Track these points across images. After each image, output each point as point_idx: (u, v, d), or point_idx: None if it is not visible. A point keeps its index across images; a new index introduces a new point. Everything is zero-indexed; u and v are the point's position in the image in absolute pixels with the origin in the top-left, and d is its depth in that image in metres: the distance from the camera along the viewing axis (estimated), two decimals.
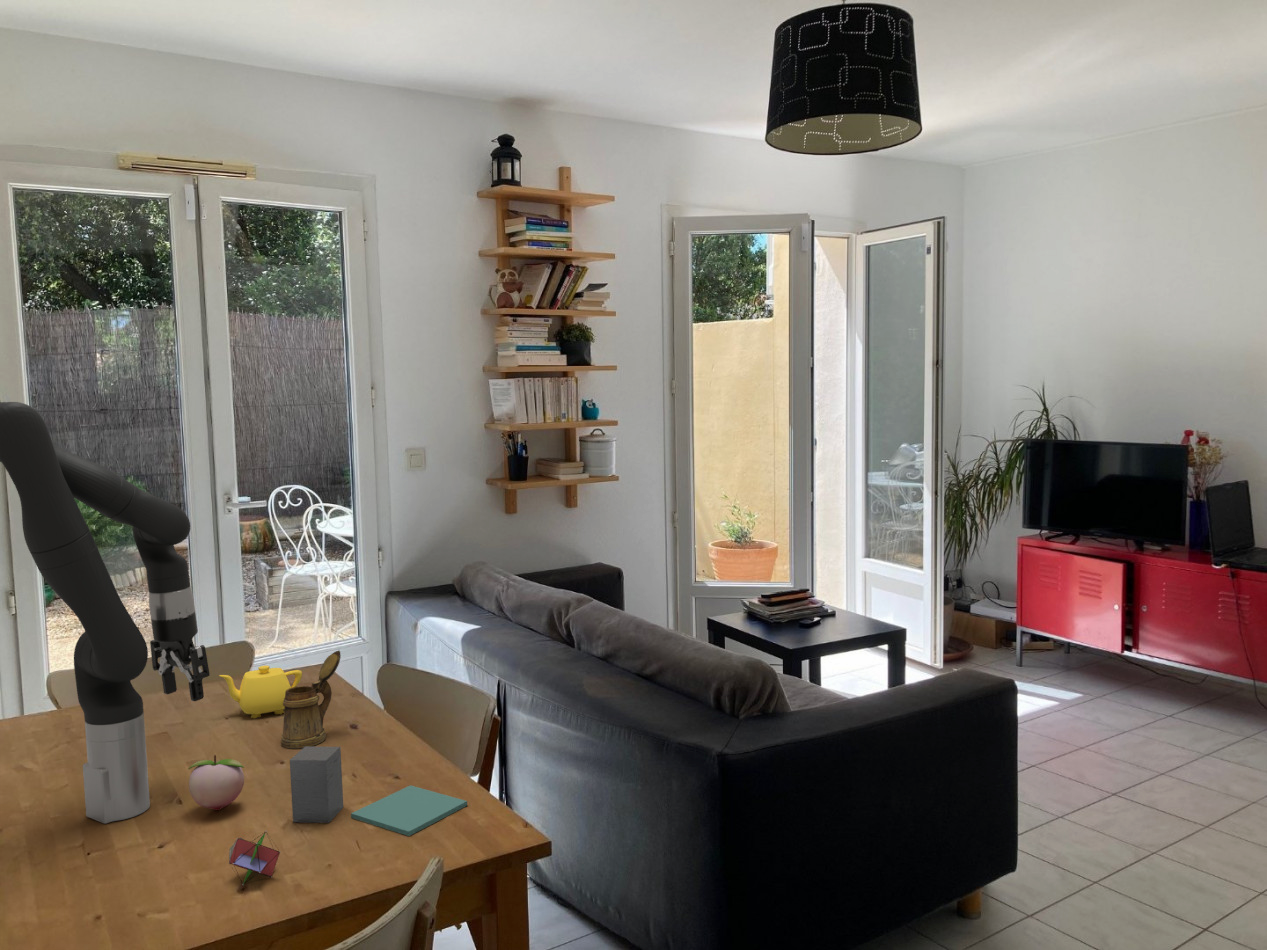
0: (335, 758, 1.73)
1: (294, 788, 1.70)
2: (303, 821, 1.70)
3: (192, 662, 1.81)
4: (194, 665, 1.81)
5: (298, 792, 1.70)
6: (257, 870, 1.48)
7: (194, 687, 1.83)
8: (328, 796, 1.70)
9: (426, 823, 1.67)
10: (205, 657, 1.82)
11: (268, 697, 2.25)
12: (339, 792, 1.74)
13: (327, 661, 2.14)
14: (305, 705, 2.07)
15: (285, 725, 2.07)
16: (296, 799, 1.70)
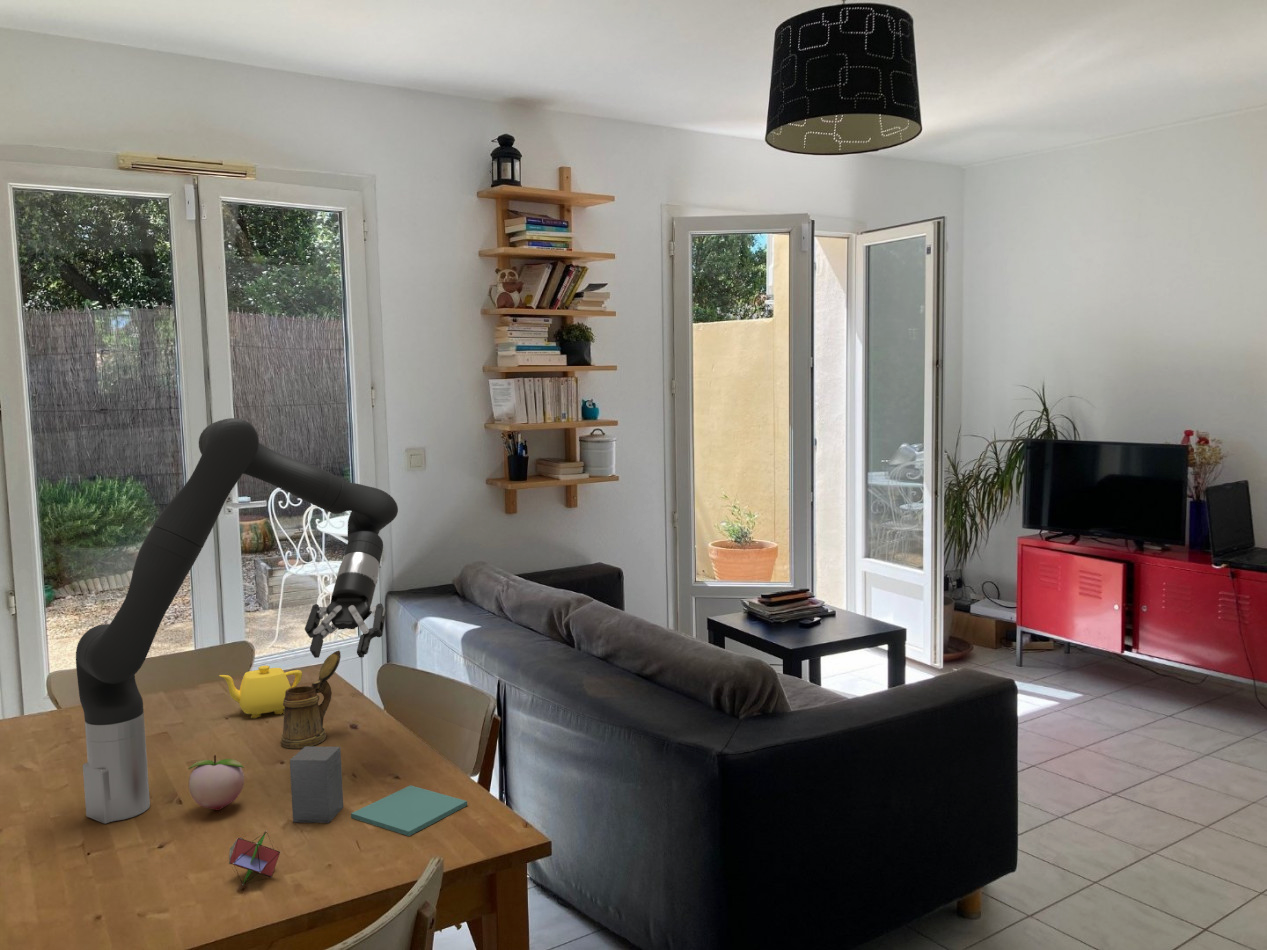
0: (335, 758, 1.73)
1: (294, 788, 1.70)
2: (303, 821, 1.70)
3: (376, 615, 1.86)
4: (378, 617, 1.86)
5: (298, 792, 1.70)
6: (257, 870, 1.48)
7: (365, 640, 1.84)
8: (328, 796, 1.70)
9: (426, 823, 1.67)
10: (384, 619, 1.88)
11: (268, 697, 2.25)
12: (339, 792, 1.74)
13: (327, 661, 2.14)
14: (305, 705, 2.07)
15: (285, 725, 2.07)
16: (296, 799, 1.70)
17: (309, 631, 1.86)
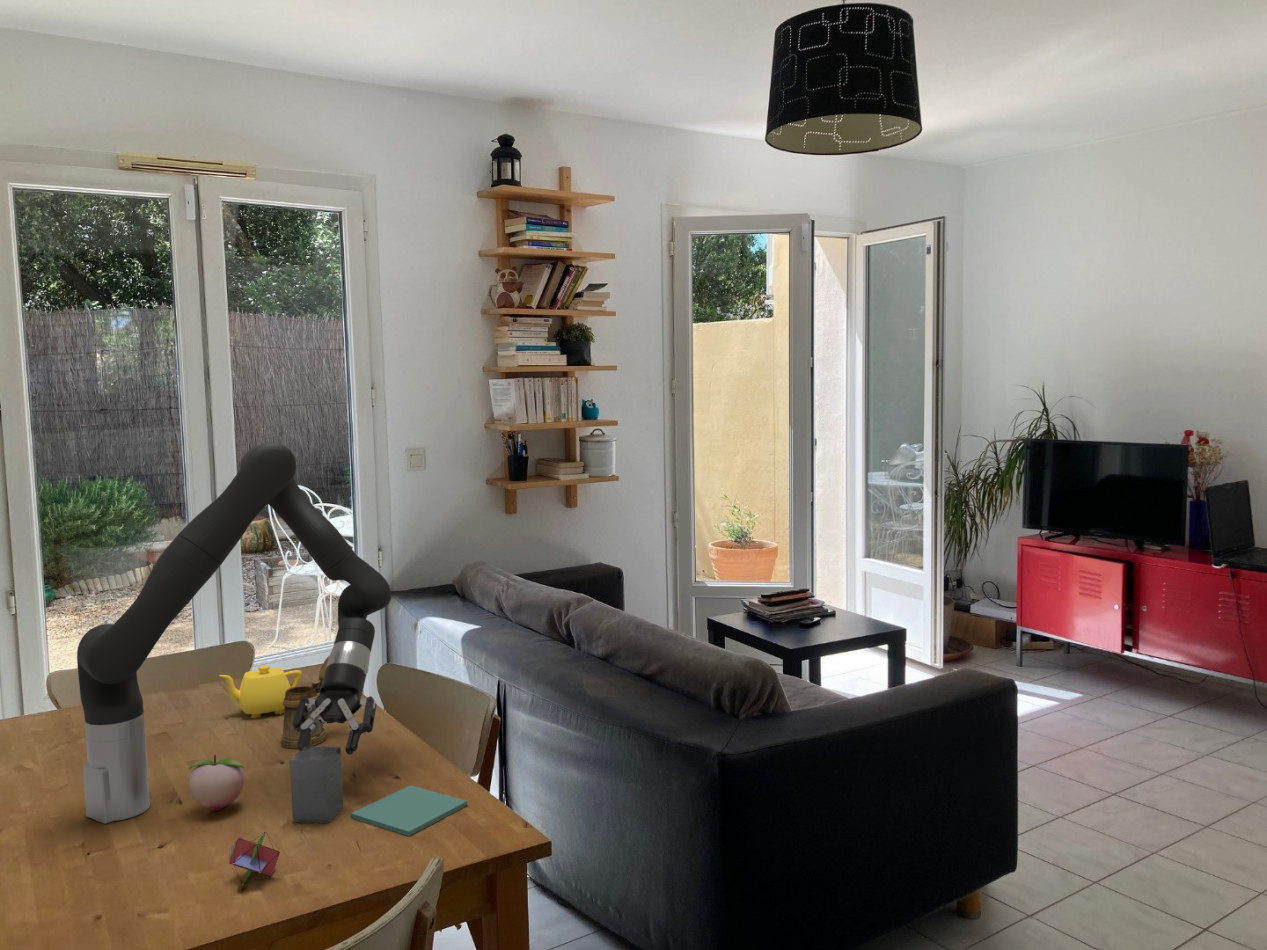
0: (335, 758, 1.73)
1: (294, 788, 1.70)
2: (303, 821, 1.70)
3: (366, 709, 1.80)
4: (368, 712, 1.80)
5: (298, 792, 1.70)
6: (257, 870, 1.48)
7: (354, 736, 1.77)
8: (328, 796, 1.70)
9: (426, 823, 1.67)
10: (374, 712, 1.82)
11: (268, 697, 2.25)
12: (339, 792, 1.74)
13: (327, 661, 2.14)
14: None
15: (285, 725, 2.07)
16: (296, 799, 1.70)
17: (297, 726, 1.80)
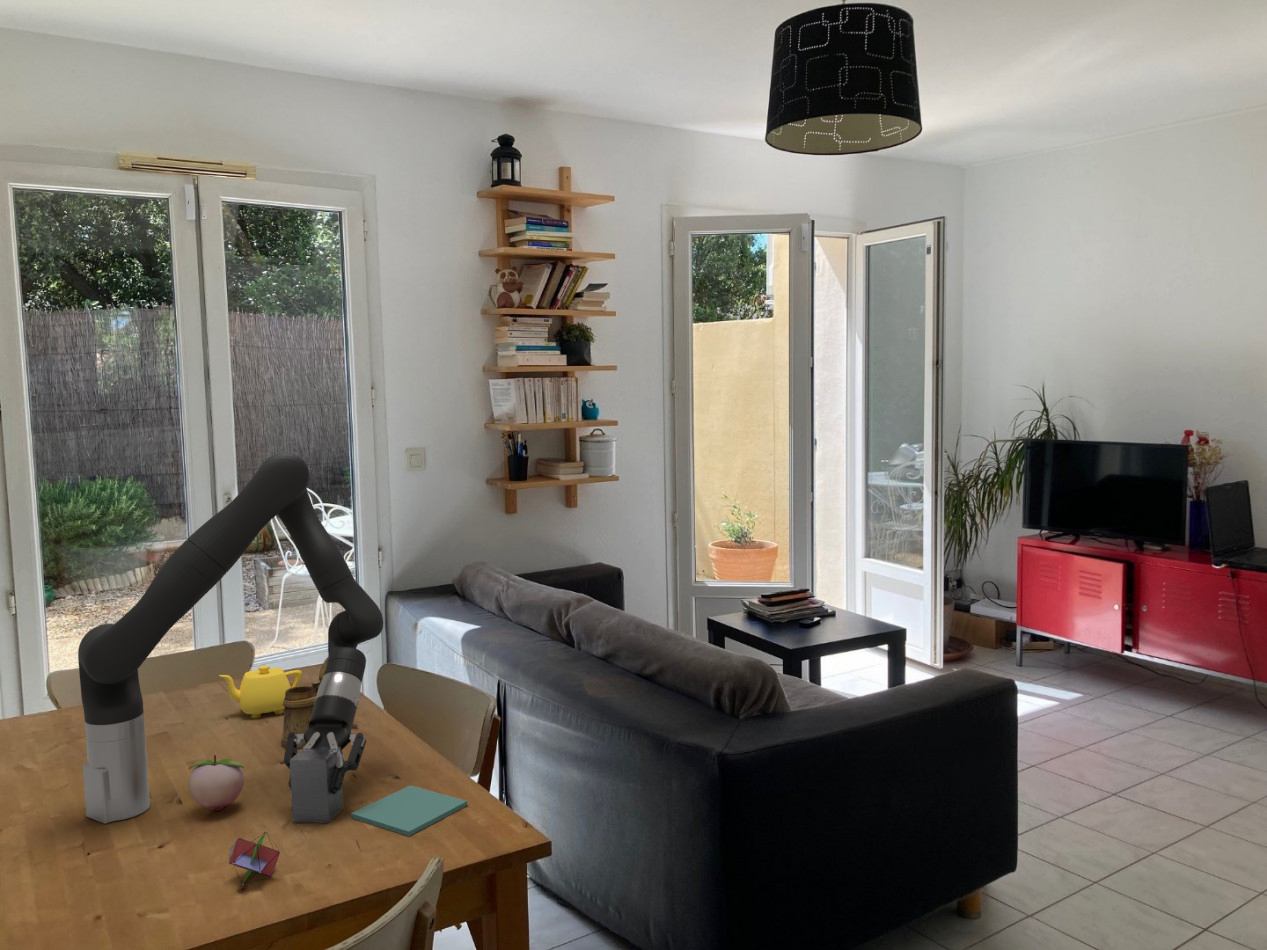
0: (335, 758, 1.73)
1: (294, 788, 1.70)
2: (303, 821, 1.70)
3: (354, 746, 1.75)
4: (355, 749, 1.74)
5: (298, 792, 1.70)
6: (257, 870, 1.48)
7: (339, 775, 1.72)
8: (328, 796, 1.69)
9: (426, 823, 1.67)
10: (362, 750, 1.76)
11: (268, 697, 2.25)
12: (339, 792, 1.74)
13: (327, 661, 2.14)
14: (305, 705, 2.07)
15: (285, 725, 2.07)
16: (296, 799, 1.70)
17: (288, 763, 1.74)
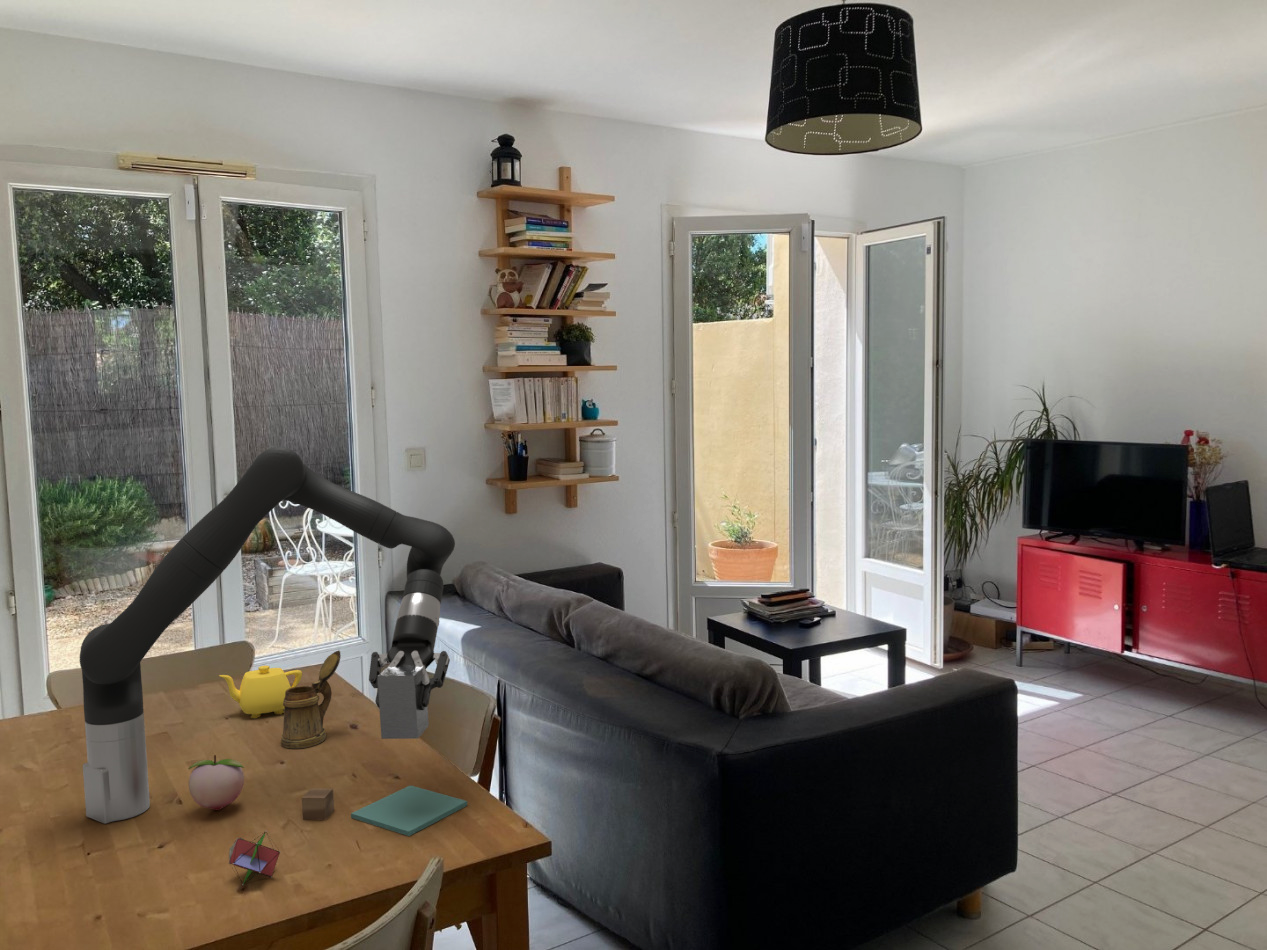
0: (421, 675, 1.72)
1: (382, 704, 1.69)
2: (391, 737, 1.70)
3: (439, 663, 1.74)
4: (440, 666, 1.74)
5: (386, 708, 1.69)
6: (257, 870, 1.48)
7: (426, 691, 1.72)
8: (416, 712, 1.69)
9: (426, 823, 1.67)
10: (447, 668, 1.76)
11: (268, 697, 2.25)
12: (425, 710, 1.74)
13: (327, 661, 2.14)
14: (305, 705, 2.07)
15: (285, 725, 2.07)
16: (384, 715, 1.70)
17: (374, 681, 1.74)
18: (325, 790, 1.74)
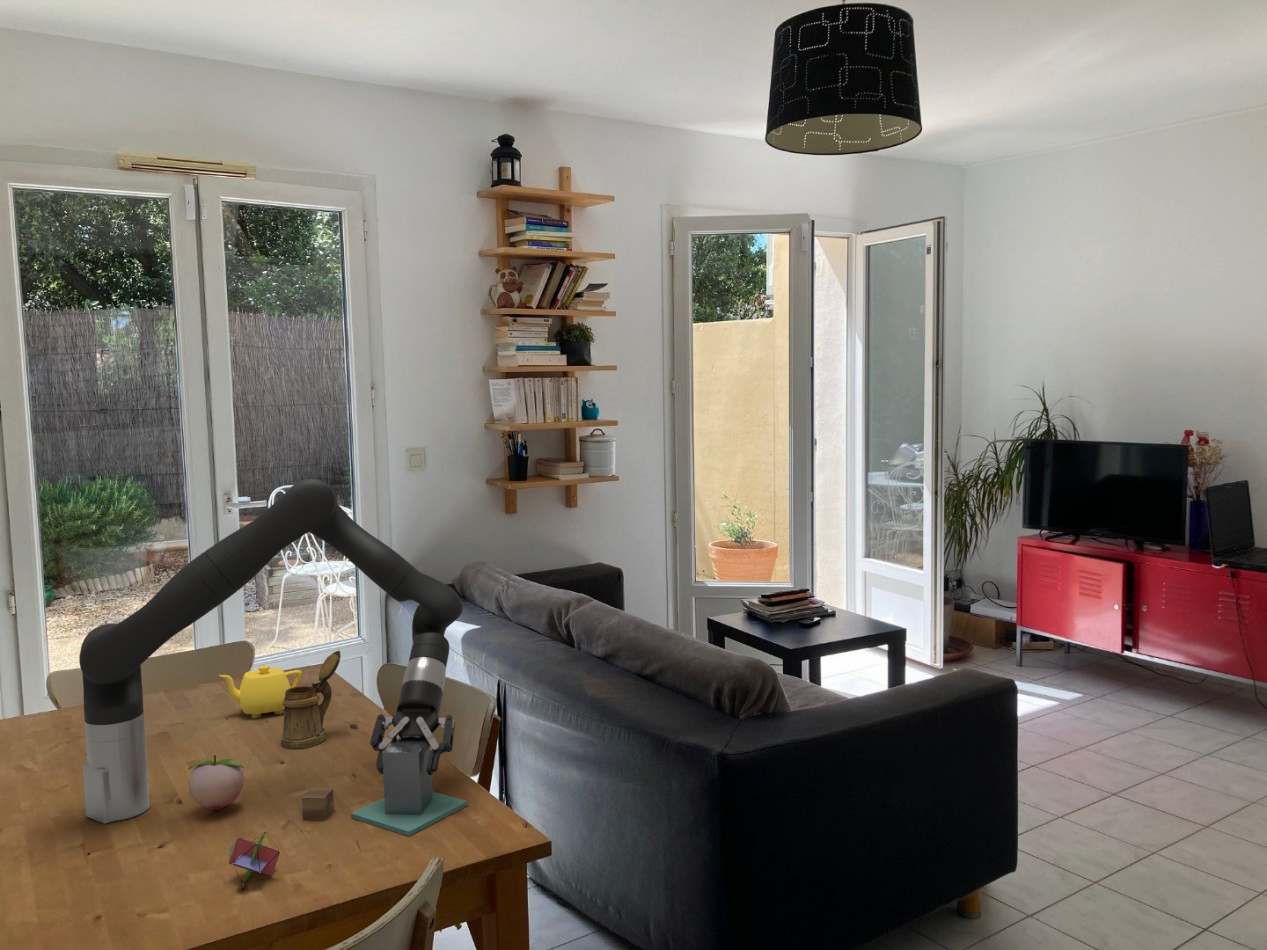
0: (425, 751, 1.73)
1: (387, 780, 1.70)
2: (395, 813, 1.71)
3: (446, 728, 1.75)
4: (448, 731, 1.75)
5: (390, 784, 1.70)
6: (257, 870, 1.48)
7: (435, 756, 1.72)
8: (420, 788, 1.70)
9: (426, 823, 1.67)
10: (453, 731, 1.77)
11: (268, 697, 2.25)
12: (429, 784, 1.75)
13: (327, 661, 2.14)
14: (305, 705, 2.07)
15: (285, 725, 2.07)
16: (388, 791, 1.70)
17: (375, 745, 1.75)
18: (325, 790, 1.74)
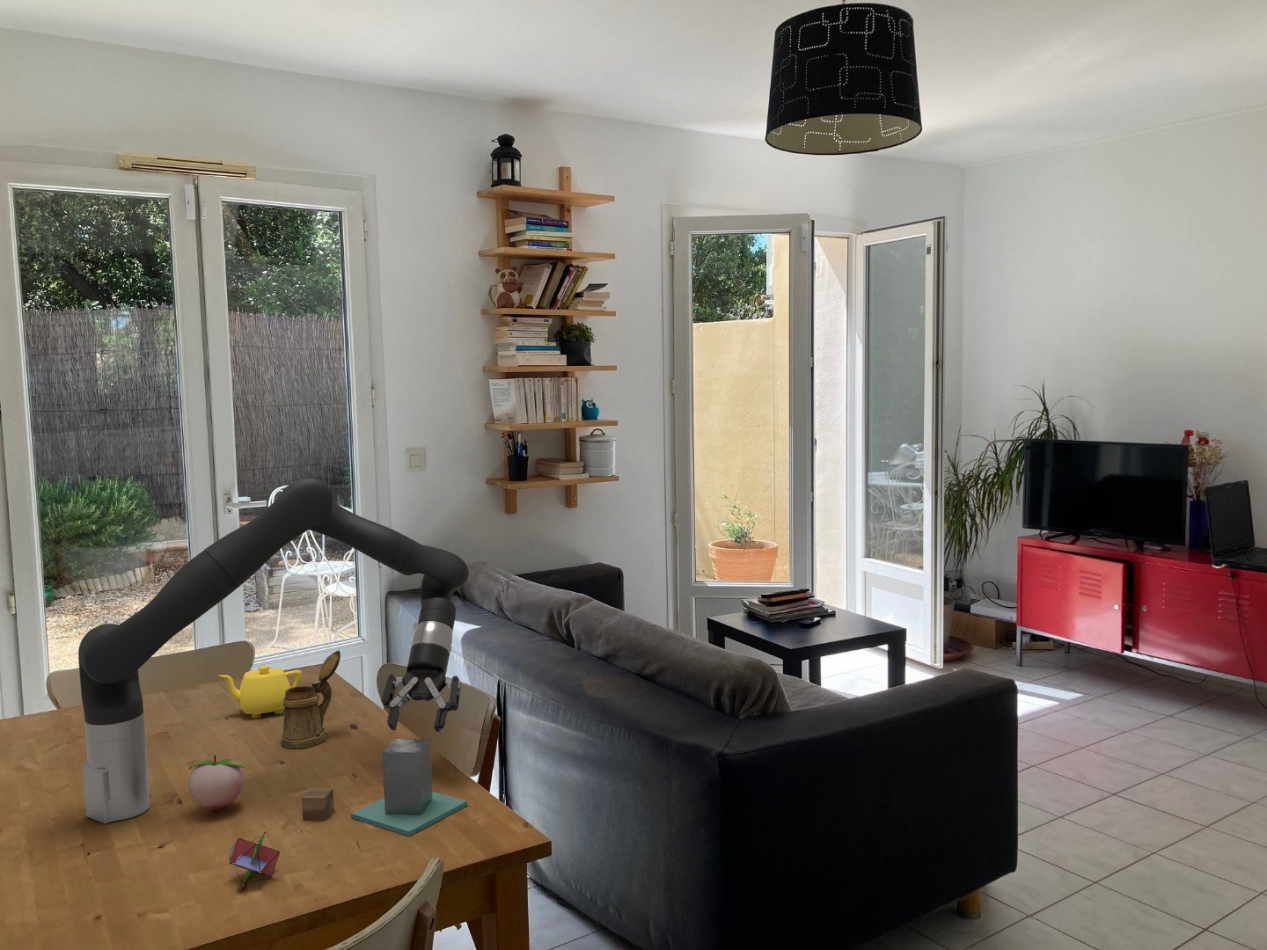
0: (425, 751, 1.73)
1: (387, 780, 1.70)
2: (395, 813, 1.71)
3: (452, 688, 1.87)
4: (454, 691, 1.87)
5: (390, 784, 1.70)
6: (257, 870, 1.48)
7: (442, 715, 1.85)
8: (420, 788, 1.70)
9: (426, 823, 1.67)
10: (459, 691, 1.89)
11: (268, 697, 2.25)
12: (429, 784, 1.75)
13: (327, 661, 2.14)
14: (305, 705, 2.07)
15: (285, 725, 2.07)
16: (388, 791, 1.70)
17: (386, 703, 1.87)
18: (325, 790, 1.74)
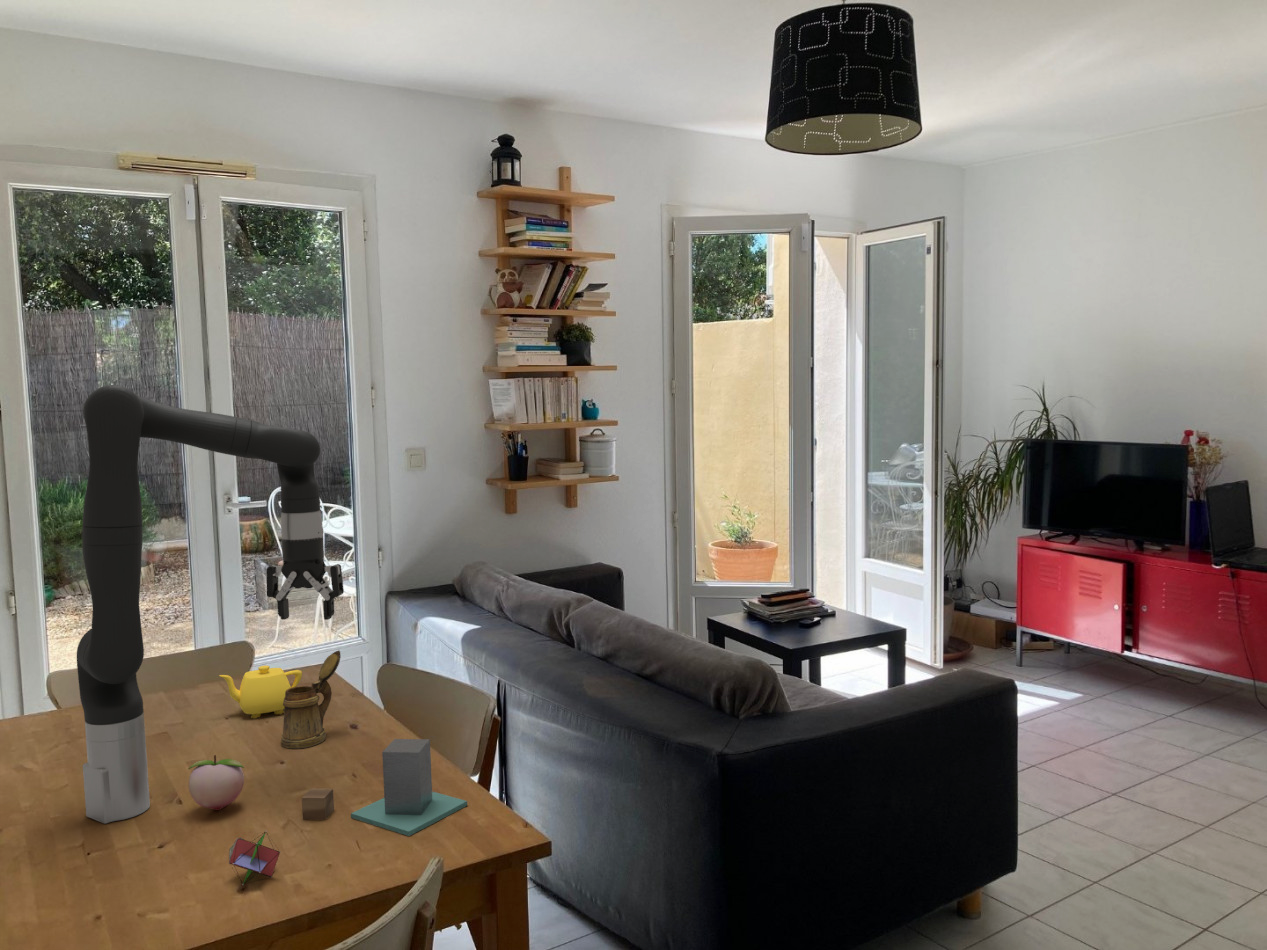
0: (425, 751, 1.73)
1: (387, 780, 1.70)
2: (395, 813, 1.71)
3: (333, 579, 1.88)
4: (335, 582, 1.88)
5: (390, 784, 1.70)
6: (257, 870, 1.48)
7: (329, 605, 1.89)
8: (420, 788, 1.70)
9: (426, 823, 1.67)
10: (341, 575, 1.90)
11: (268, 697, 2.25)
12: (429, 784, 1.75)
13: (327, 661, 2.14)
14: (305, 705, 2.07)
15: (285, 725, 2.07)
16: (388, 791, 1.70)
17: (272, 596, 1.90)
18: (325, 790, 1.74)
